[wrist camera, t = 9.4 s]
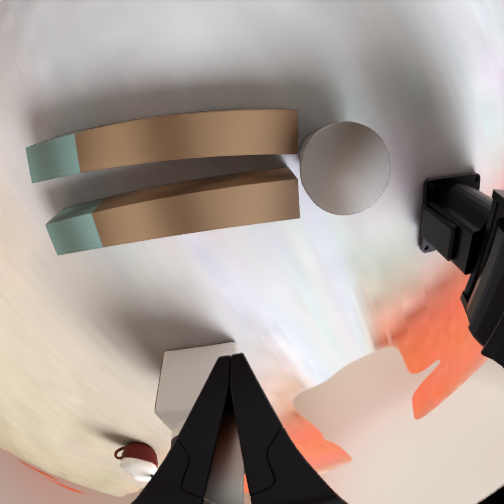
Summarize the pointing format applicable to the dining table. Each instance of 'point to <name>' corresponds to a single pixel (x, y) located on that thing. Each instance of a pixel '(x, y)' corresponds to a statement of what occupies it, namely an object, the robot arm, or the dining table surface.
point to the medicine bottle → (185, 381)
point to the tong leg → (166, 141)
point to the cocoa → (138, 461)
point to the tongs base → (236, 195)
